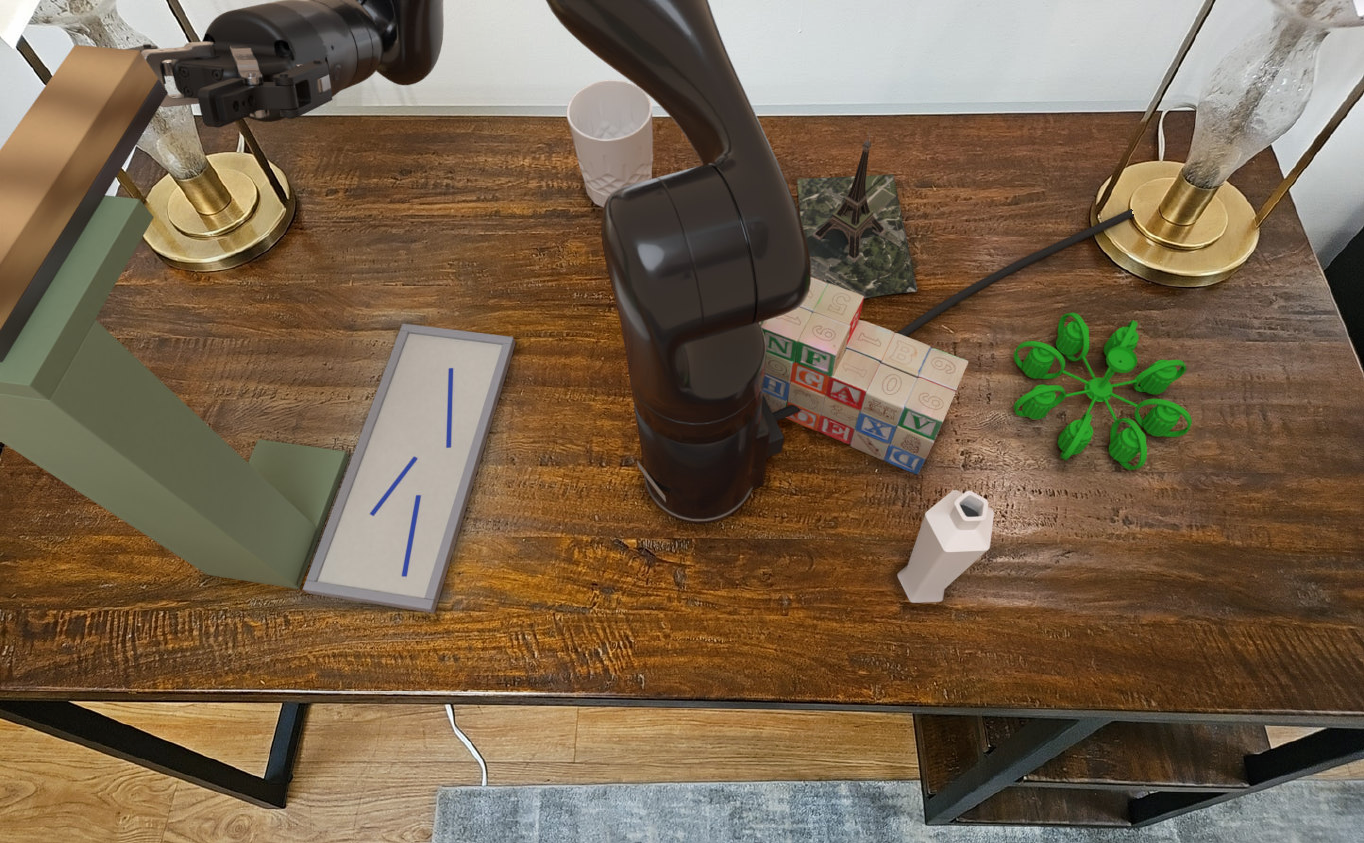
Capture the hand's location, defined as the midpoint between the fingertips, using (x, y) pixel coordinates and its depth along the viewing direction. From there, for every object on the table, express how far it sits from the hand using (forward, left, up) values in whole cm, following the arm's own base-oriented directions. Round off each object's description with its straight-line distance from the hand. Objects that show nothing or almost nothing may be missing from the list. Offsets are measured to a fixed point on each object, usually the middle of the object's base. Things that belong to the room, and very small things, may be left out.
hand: (139, 103), depth 53 cm
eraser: (+4, +8, +1) cm, 9 cm away
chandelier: (-61, +27, -32) cm, 74 cm away
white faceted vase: (-40, +36, -32) cm, 63 cm away
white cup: (-31, -12, -32) cm, 46 cm away
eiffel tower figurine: (-50, +3, -32) cm, 59 cm away
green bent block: (+7, +12, -31) cm, 34 cm away
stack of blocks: (-39, +18, -32) cm, 53 cm away
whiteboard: (-5, +11, -31) cm, 34 cm away
